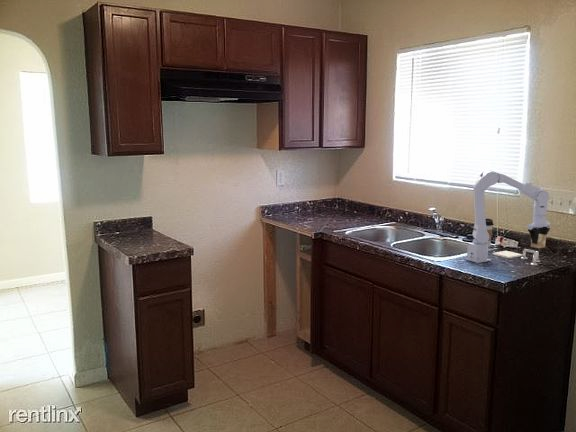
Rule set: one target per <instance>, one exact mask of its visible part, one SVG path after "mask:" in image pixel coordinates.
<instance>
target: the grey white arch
mask: <svg viewBox="0 0 576 432" xmlns="http://www.w3.org/2000/svg"><path fill="white" fill-rule="evenodd" d="M527 253H532V254H533V256H532V262H530V266H538V263H541V260H539V256H540V255H539V250H533V249H527V248H523V250H522V254H523V255H522V256H520V259H521V260H528V257H527V256H526V254H527Z"/></svg>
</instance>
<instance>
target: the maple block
mask: <svg viewBox="0 0 576 432" xmlns="http://www.w3.org/2000/svg"><path fill="white" fill-rule="evenodd" d="M546 241H547V235H543V234H539V236H538V241H537V244H534V243H532V240H531V239H530V247H532V248H535V249H543V248H545V247H546Z"/></svg>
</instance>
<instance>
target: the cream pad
mask: <svg viewBox="0 0 576 432" xmlns="http://www.w3.org/2000/svg"><path fill="white" fill-rule="evenodd" d="M492 255H493V256H497V257H501V258H506V259H514V258H521V257H523V253H517V252H513V251H508V250H502V251H501V250H500V251H496V252H492Z"/></svg>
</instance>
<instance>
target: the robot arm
mask: <svg viewBox="0 0 576 432" xmlns="http://www.w3.org/2000/svg"><path fill="white" fill-rule="evenodd" d="M496 184H506V185H508V186H510V187H513V188H515V189H518V190H517V191H518V192H519V193H520V194H522V195H524V196H526V197H528V198H530V199H532V200H534V201H533V209H532V211H533V213H532V223H530V224H527V225H526V228H527V229H526V230H527V231H528V233H529V235H530V241H531V240H532V243H534V244H537V241H538V236H539V234H543V235H546V236H547V234H548V233H549V232H550V230H551V224H552V222H548V221H547V213H548V212H547V211H548V201H549V200H550V198H551V196H550V193H548V191H547V190H544V189H542V188H541V187H540V186H538V187H537V186H535V185H533V184H532V183H531V182H530V181H528V182H527V181H525V182H520V181H517V180H516V179H514V178H512V177H510V176H508V175H505V174H503V173H500V172H496V171H492V170H490V169H486V170H484V171H482V172H481V174H479V175H478V178H477V180H476V181H475V183H474V185H473V189H472V190H473V206H474V208H473V209H474V212H473V213H474V224H473V230H472V237H473V240H472V242H471V243H470V244H468V246H467V249H466V250H467V251H466V253H467V254H466V258H465V260H467V261H470V262H474V263H477V264H479V263H486V262H491V261H492V259H490V258H488V256H489V255H488V253H489V247H488V240H489V234H488V232H487V226H486V219H487V218H486V200H485V191H486V190H488V189H489V188H490V187H491V186H494V185H496Z"/></svg>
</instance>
